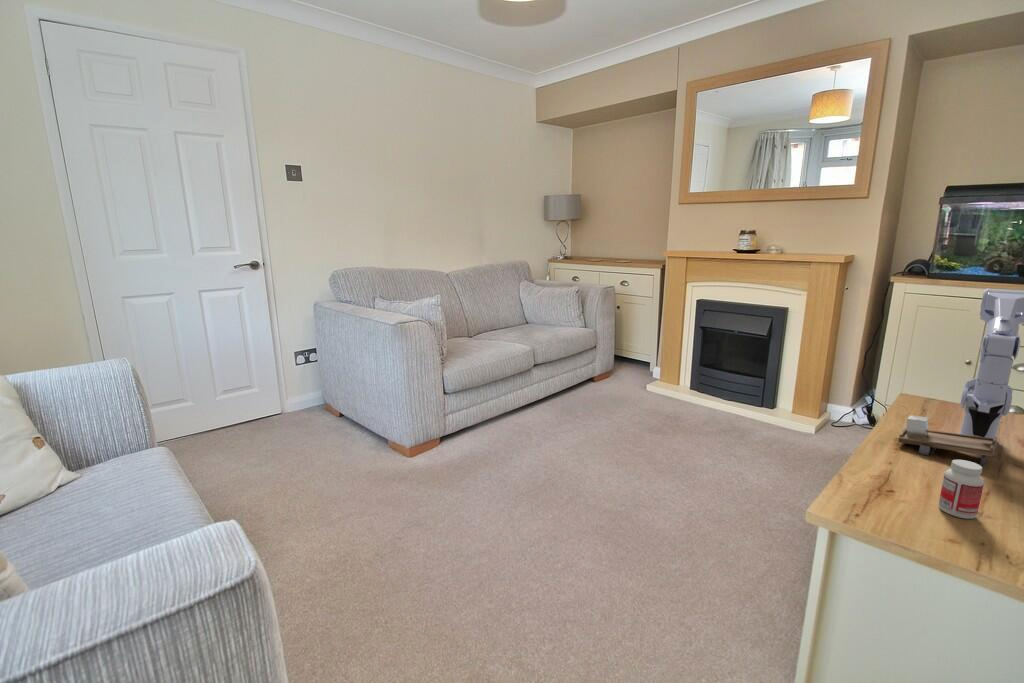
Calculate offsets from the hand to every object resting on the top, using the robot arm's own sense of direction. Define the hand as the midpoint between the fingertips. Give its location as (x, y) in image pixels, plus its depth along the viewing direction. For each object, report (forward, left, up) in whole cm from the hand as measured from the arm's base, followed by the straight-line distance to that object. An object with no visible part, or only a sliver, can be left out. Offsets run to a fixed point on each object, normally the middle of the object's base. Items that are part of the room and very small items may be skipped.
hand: (980, 431), depth 125 cm
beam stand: (0, -9, -8) cm, 12 cm away
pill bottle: (+35, +1, -8) cm, 36 cm away
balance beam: (0, -9, -6) cm, 11 cm away
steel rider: (0, -12, -5) cm, 13 cm away
